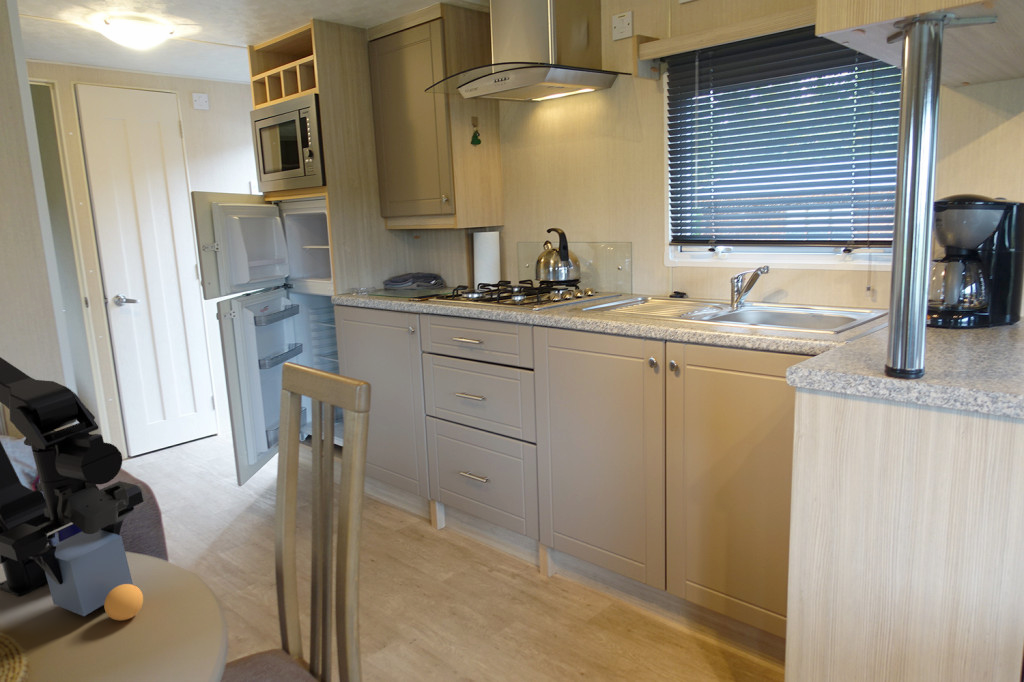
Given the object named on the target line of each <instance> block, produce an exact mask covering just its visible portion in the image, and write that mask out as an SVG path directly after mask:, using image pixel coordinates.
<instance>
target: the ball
mask: <svg viewBox="0 0 1024 682" xmlns="http://www.w3.org/2000/svg"><path fill="white" fill-rule="evenodd" d="M143 603H144V595H143V591H142V589H140V588H139V587H137V586H136V585H134V584H133V585H131V584H123V585H119V586H117V587H115V588H114V589H112V590H111V591H110V592H109V594H108V595H107V597H106V599H105V603H104V605H103V606H104V610H105V613H106V615H107V616H108V618H109V617H110V618H111V619H113V620H115V621H126V620H130V619H131V618H133V617H135V616H136V615H137V614H138V613H139V612H140V610H141V609H142V607H143Z"/></svg>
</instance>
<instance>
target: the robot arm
mask: <svg viewBox="0 0 1024 682" xmlns="http://www.w3.org/2000/svg"><path fill="white" fill-rule="evenodd" d="M0 403H1V404H2V405H4V406H5V407H6V408H7V409H8V410H9V421H10V423H12V424H13V425H14V427H15V428H16V429H17V431H19V432H20V433H21V435H23V436H24V437H25V439H24V441H23V444H24V445H25V446H28V447H30V448H31V452H32V456H33V459H34V463H35V468H36V471H37V475H38V478H39V483H36V487H37V489H35V490H33V489H32V488H30V487H27V486H25V485H23V484H22V482H21V480H20V477H19V476H18V474H17V472H16V470H15V467H14V465H13V463H12V462H11V461H12V460H10V458H9V456H8V454H7V452H6V449H5V448H4V445H3V443H2V442H1V441H2V440H0V565H1V566H2V569H3V572H4V576H5V577H4V578H5V579H6V580H4V581H2V582H0V589H1V590H4V592H8V593H10V594H13V595H16V596H18V597H19V596H23V595H25V594H26V593H29V592H30V591H32V590H34V589H36V588H38V587H39V586H42V585H43V584H46V583H48V581H47V577H46V574H45V572H46V573H47V574H48V575H49V576H50V577H51V578H52V579H53V580H54V581H55V582H56V583H57V584H59V585H61V584H62V583H63V580H62V574H61V571H60V569H59V566H58V563H57V560H56V557H55V551H56V546H53V545H52V544H50V543H49V540H53V539H54V538H56V534H57V533H56V532H59V531H61V530H63V529H65V528H67V527H69V526H71V525H73V524H74V525H76V526H77V527H78V528H80V529H81V530H82V532H84V533H85V534H93V533H96V532H98V531H99V530H103V531H107V532H110V533H114V534H117V535H120V536H121V530H122V526H123V522H124V520H125V519H126V518H127V516H129V514H131V513H133V512H134V510H135V507H136V506H138V505H140V504H142V503H144V502H145V496H144V491H143V490H142V488H141V486H139V485H138V484H133V483H130V482H125V481H120V480H118V481H117V482H116V481H115V482H114V483H112V484H109V485H107V486H105V487H103V488H100V489H99V487H98V485H104V484H108V483H109V482H111V481H112V480H113V479H115V478H116V476H118V474H119V472H120V471H121V469H122V466H123V455H122V452H121V451H120V449H119V448H118V447H117V446H116V445H114V444H112V443H110V442H104V439H103V435H102V434H100V433H93V432H95V431H97V430H98V429H99V425H98V424H97V422H96V421H95V418H96V417H95V415H94V414H93V413H92V412H91V411H90V410H89V408H87V407H86V405H85V404H84V403H83V402H82V400H81V399H80V398H79V396H78V395H77V394H76V393H75V392H74V391H73V390H72V389H70V388H69V387H67V386H65V385H63V384H61V383H58V382H55V381H54V380H53V381H52V380H42V379H41V380H40V379H35V378H33V377H31V376H30V375H28V374H27V373H25V372H23V371H22V370H21V369H19V368H18V367H16V366H14V365H13V364H11V363H10V362H9V361H7V360H5V359H4V358H3V357H1V356H0ZM76 422H78V423H76ZM74 423H76V424H74ZM72 424H73V425H72ZM69 425H70V426H69ZM66 426H67V427H66ZM91 432H92V433H93V434H90V433H91Z"/></svg>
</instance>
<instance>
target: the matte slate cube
mask: <svg viewBox="0 0 1024 682" xmlns="http://www.w3.org/2000/svg"><path fill="white" fill-rule="evenodd" d="M53 546H56V551H55V557H56V560H57V563H58V566H59V569H60V571H61V574H62V580H63V583H62V584H61V585H59V584H57V583H56V582H55V581H54V580H53V579H52V578H51V577H50V576H49V575H48V574H47V573H46V572H45V574H46V577H47V581H48V582H47V584H48V587H49V588H48V589H49V592H50V595H51V600H52V603H53V605H55V606H57V607H60V608H62V609H65V610H68V611H70V612H72V613H75V614H77V615H80V616H82V617H86V616H87V615H88V614H90V613H92V612H94V611H95V610H97V609H99V608H101V607H103V606H104V603H105V599H106V597H107V595H108V594H109V592H110V591H111V590H112V589H114V588H115V587H117V586H119V585H123V584H131V585H134V584H133V579H132V575H131V570H130V566H129V563H128V557H127V554H126V550H125V546H124V541H123V536H122V535H121V534H120V535H117V534H114V533H110V532H107V531H103V530H101V529H100V530H99V531H98V532H96V533H93V534H85V533H84V532H80V533H78V534H76V535H74V536H71V537H69V538H67V539H65V540H63V541H61V542H59V541H58V542H57V543H56V544H54V545H53Z"/></svg>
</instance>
